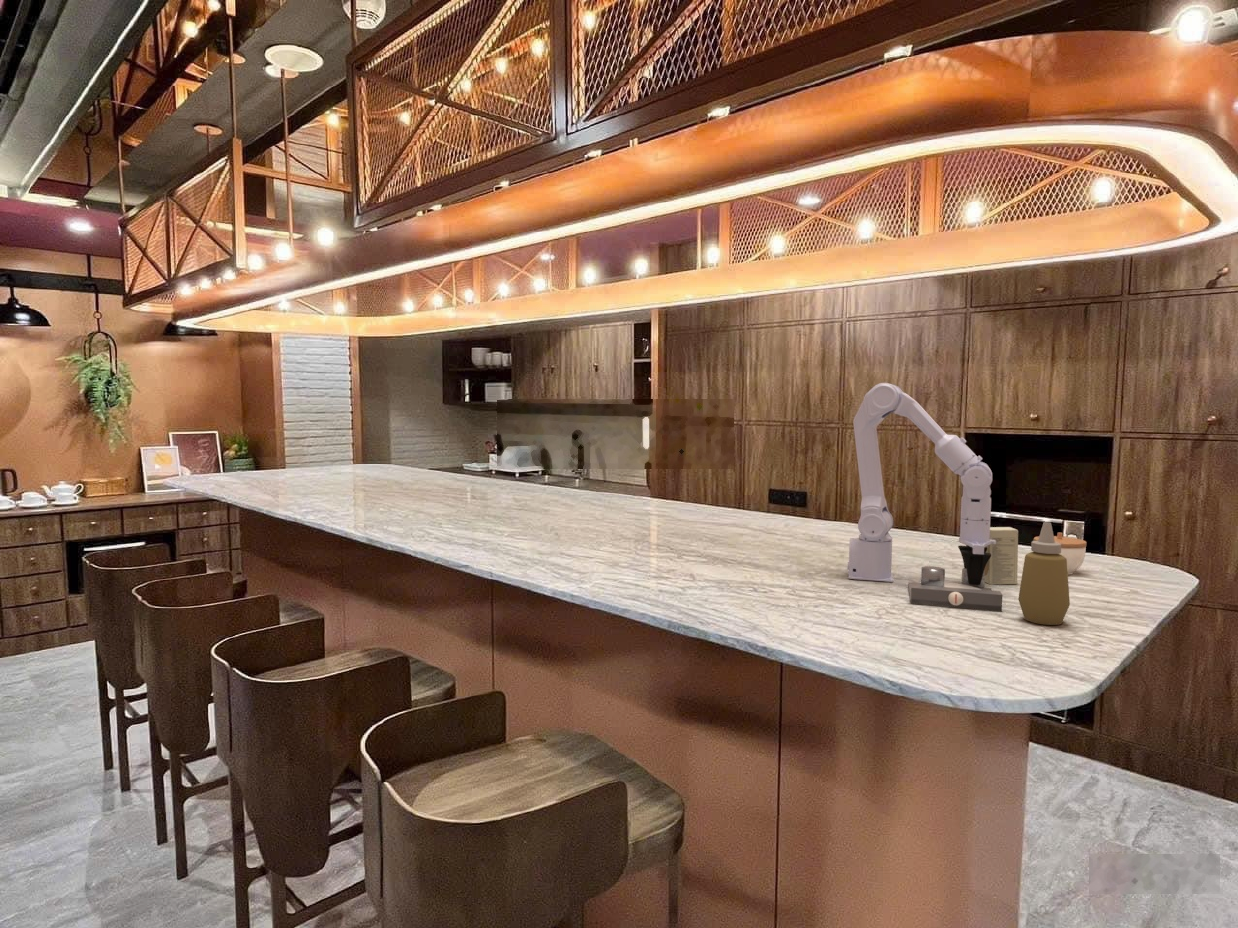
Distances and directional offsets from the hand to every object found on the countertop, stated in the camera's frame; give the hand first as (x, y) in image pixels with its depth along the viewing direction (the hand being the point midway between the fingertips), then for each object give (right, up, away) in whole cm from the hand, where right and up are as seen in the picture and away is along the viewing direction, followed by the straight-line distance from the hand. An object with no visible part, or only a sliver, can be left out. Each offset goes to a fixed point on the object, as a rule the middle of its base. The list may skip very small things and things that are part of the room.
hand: (973, 581), depth 154 cm
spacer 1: (-11, 0, -6) cm, 13 cm away
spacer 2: (0, -2, 0) cm, 2 cm away
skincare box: (+8, -1, +6) cm, 10 cm away
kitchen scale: (-8, -2, -9) cm, 12 cm away
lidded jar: (+28, -1, +16) cm, 33 cm away
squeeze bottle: (+1, -3, -25) cm, 25 cm away
